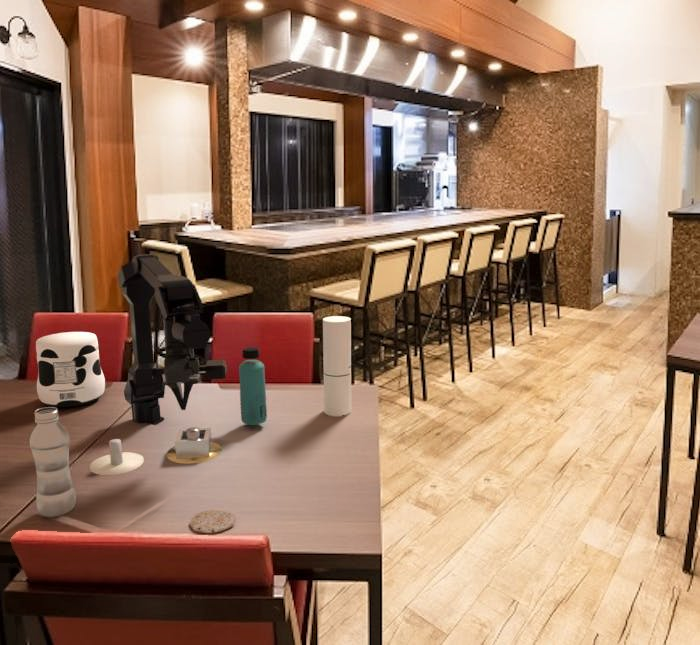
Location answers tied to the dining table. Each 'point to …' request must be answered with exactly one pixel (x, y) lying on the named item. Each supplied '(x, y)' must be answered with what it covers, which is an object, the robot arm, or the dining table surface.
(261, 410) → the beverage bottle
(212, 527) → the flatbread
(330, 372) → the cylindrical container
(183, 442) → the collar
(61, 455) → the plastic bottle
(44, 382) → the milk container
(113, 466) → the stand
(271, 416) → the dining table surface
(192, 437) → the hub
